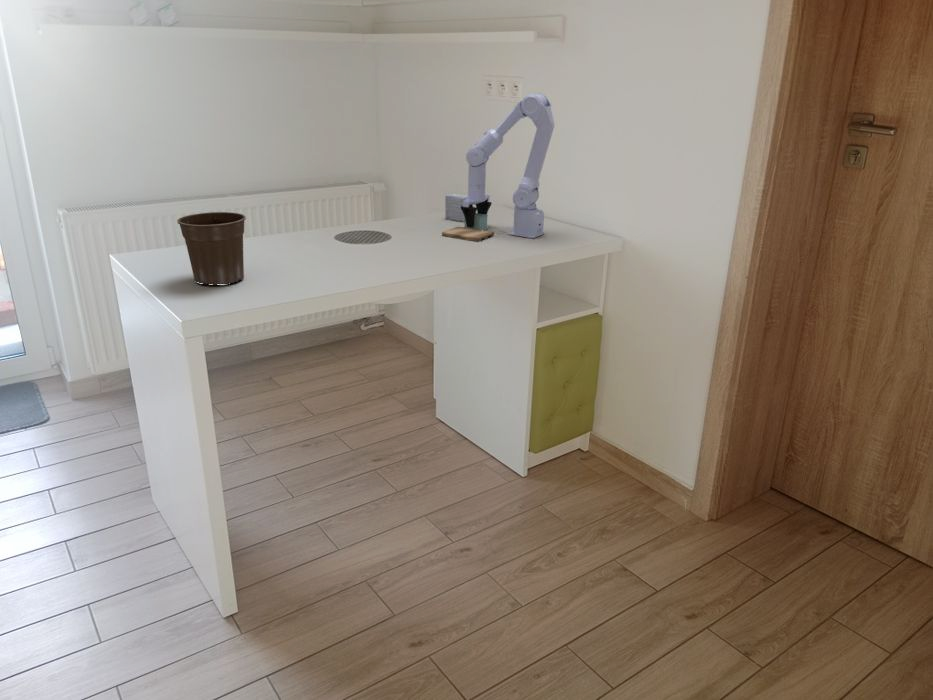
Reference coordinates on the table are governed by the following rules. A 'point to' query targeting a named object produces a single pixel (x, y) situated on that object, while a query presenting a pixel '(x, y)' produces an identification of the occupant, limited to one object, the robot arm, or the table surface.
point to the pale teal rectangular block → (479, 222)
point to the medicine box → (454, 207)
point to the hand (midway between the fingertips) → (475, 225)
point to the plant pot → (215, 246)
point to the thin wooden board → (468, 233)
